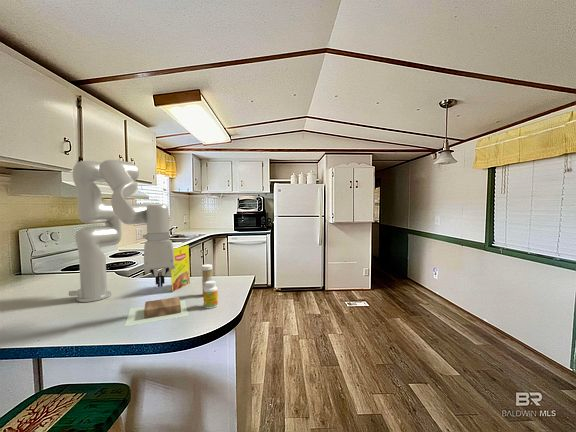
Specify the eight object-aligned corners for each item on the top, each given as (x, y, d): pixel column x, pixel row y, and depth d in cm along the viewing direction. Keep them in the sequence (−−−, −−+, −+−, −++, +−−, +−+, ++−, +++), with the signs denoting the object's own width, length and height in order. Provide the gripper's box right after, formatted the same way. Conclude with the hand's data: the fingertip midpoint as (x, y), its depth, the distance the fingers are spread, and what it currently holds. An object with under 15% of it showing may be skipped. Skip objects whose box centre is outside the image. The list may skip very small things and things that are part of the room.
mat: (124, 327, 91) (124, 326, 91) (130, 309, 107) (130, 308, 107) (188, 316, 99) (188, 315, 99) (184, 301, 116) (184, 300, 116)
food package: (172, 292, 128) (171, 249, 127) (170, 292, 128) (169, 249, 128) (190, 283, 143) (189, 244, 142) (188, 283, 143) (187, 244, 143)
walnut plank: (144, 310, 97) (180, 304, 102) (145, 301, 106) (179, 296, 111) (144, 318, 97) (180, 312, 102) (145, 309, 106) (179, 304, 111)
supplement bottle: (205, 309, 106) (204, 284, 106) (202, 305, 111) (202, 281, 110) (219, 307, 108) (218, 282, 108) (216, 302, 113) (215, 279, 113)
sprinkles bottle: (200, 295, 123) (199, 265, 123) (209, 292, 127) (208, 263, 126) (206, 297, 120) (205, 266, 120) (215, 294, 124) (214, 264, 123)
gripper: (134, 239, 96) (136, 291, 97) (180, 237, 102) (182, 285, 103) (136, 237, 103) (138, 286, 104) (179, 235, 109) (180, 281, 110)
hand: (160, 285), depth 103 cm, fingers closed
